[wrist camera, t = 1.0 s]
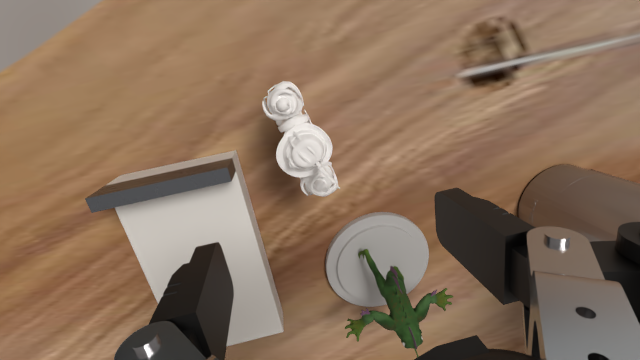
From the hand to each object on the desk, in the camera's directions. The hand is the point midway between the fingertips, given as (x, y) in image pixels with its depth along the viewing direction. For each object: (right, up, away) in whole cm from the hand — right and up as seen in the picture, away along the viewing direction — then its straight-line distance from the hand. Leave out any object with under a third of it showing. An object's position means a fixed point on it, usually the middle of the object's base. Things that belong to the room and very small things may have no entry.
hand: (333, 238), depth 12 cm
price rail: (-13, +2, +16) cm, 21 cm away
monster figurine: (+6, -7, +26) cm, 27 cm away
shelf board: (-12, -5, +22) cm, 26 cm away
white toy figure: (-3, +7, +19) cm, 21 cm away
